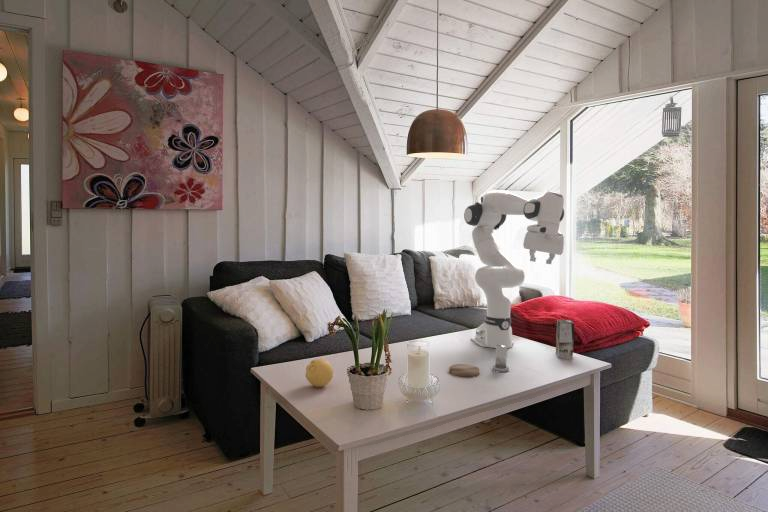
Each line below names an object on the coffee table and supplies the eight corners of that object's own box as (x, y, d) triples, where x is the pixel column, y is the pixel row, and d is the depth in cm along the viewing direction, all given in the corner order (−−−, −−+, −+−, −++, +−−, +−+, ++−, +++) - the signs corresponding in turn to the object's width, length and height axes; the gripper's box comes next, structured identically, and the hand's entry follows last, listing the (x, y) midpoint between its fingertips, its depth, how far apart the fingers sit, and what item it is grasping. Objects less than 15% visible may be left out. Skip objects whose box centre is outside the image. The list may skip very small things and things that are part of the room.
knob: (489, 368, 210) (490, 344, 209) (502, 366, 212) (503, 343, 211) (498, 373, 204) (499, 348, 203) (511, 371, 206) (512, 347, 205)
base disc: (443, 369, 207) (443, 365, 207) (469, 366, 212) (469, 363, 212) (459, 378, 196) (459, 374, 196) (485, 375, 201) (485, 371, 200)
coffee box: (573, 359, 226) (575, 323, 224) (557, 358, 227) (559, 322, 225) (569, 353, 234) (571, 319, 233) (555, 352, 236) (557, 318, 234)
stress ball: (334, 386, 187) (321, 364, 192) (341, 371, 181) (327, 349, 186) (310, 395, 182) (298, 373, 186) (317, 381, 175) (303, 358, 180)
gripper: (558, 233, 220) (552, 264, 221) (524, 225, 210) (517, 258, 210) (570, 234, 214) (563, 266, 215) (535, 227, 204) (528, 260, 205)
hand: (540, 262), depth 213 cm, fingers open, 8 cm apart
